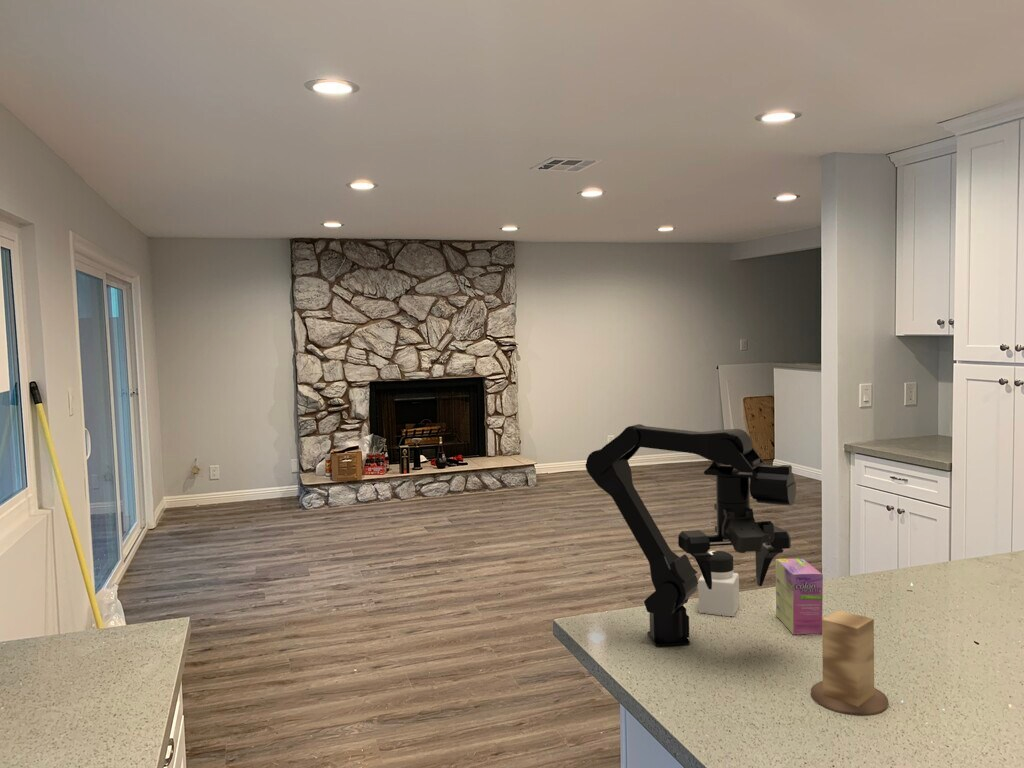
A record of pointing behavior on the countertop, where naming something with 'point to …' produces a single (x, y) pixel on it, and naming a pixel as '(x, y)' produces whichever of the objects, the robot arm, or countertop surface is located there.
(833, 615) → the oak block
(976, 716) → the countertop surface
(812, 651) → the countertop surface
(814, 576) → the box
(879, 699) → the coaster
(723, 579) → the medicine bottle
